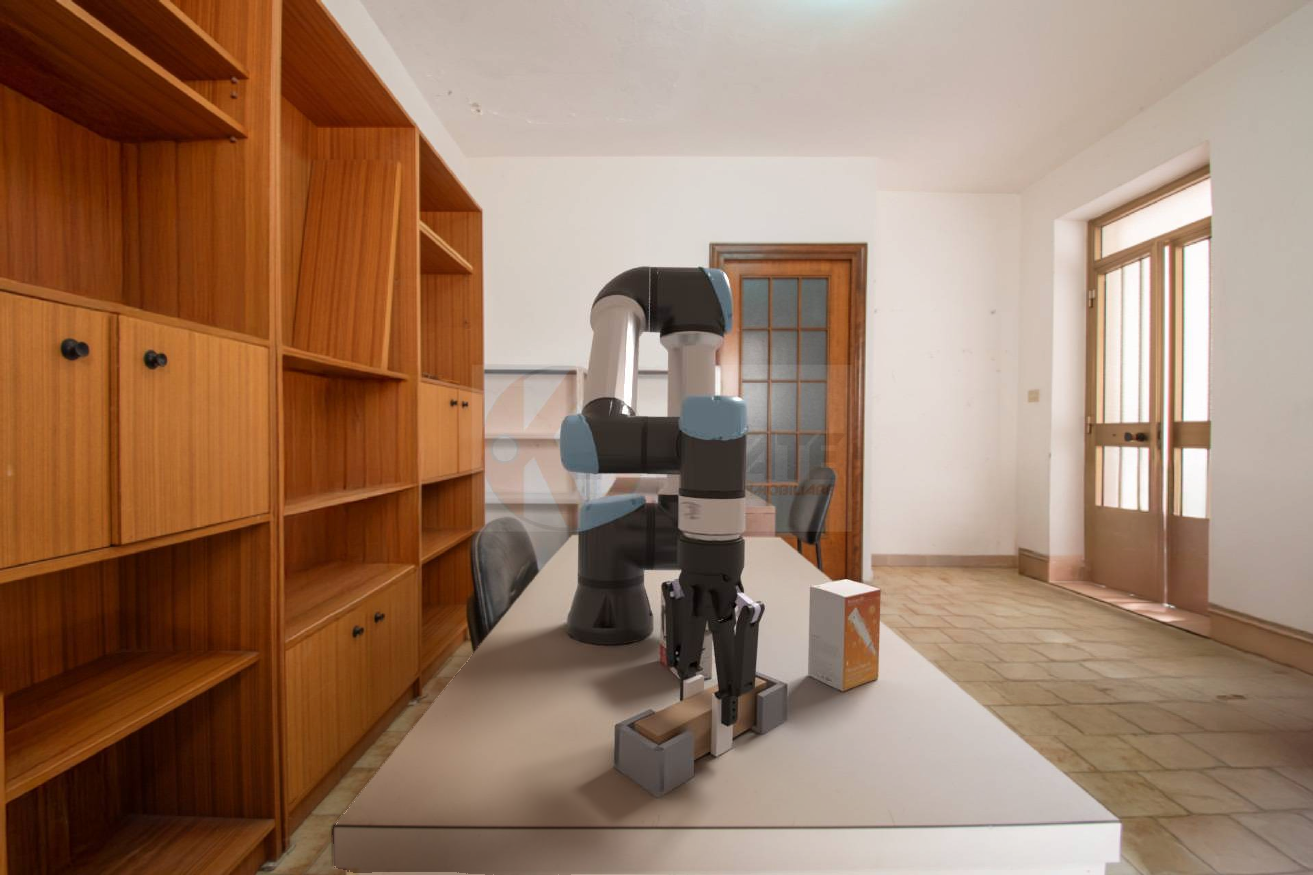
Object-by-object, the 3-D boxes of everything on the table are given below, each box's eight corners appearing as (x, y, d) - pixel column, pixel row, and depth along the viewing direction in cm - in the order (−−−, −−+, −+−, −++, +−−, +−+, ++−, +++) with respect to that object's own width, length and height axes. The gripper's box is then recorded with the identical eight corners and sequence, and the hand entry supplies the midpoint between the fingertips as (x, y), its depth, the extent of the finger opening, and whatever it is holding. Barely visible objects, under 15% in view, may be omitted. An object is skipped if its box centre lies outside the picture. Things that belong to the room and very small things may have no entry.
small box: (843, 693, 75) (845, 596, 75) (806, 675, 80) (808, 585, 80) (880, 679, 80) (882, 588, 79) (843, 663, 85) (844, 577, 85)
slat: (657, 781, 55) (658, 736, 55) (634, 765, 57) (634, 722, 57) (765, 718, 67) (766, 681, 67) (742, 707, 70) (743, 672, 70)
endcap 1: (614, 766, 58) (614, 724, 58) (649, 748, 61) (650, 708, 61) (657, 797, 53) (658, 752, 53) (693, 776, 56) (694, 733, 56)
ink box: (657, 660, 85) (659, 583, 85) (686, 655, 87) (687, 580, 87) (682, 684, 77) (684, 599, 77) (713, 678, 79) (715, 595, 79)
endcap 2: (718, 712, 69) (719, 677, 69) (743, 700, 73) (744, 666, 73) (762, 734, 64) (762, 696, 64) (786, 719, 68) (787, 683, 68)
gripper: (636, 527, 66) (632, 725, 66) (750, 549, 54) (746, 792, 54) (680, 521, 71) (677, 705, 71) (794, 540, 59) (790, 762, 59)
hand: (707, 742), depth 63 cm, fingers open, 4 cm apart
